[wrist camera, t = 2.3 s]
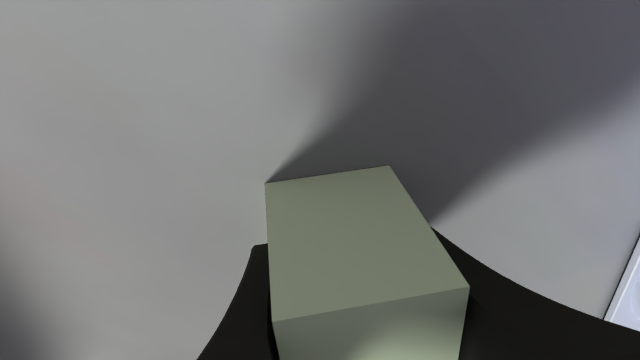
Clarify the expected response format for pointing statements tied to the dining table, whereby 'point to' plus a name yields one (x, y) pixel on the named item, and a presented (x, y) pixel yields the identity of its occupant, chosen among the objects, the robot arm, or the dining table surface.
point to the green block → (359, 272)
